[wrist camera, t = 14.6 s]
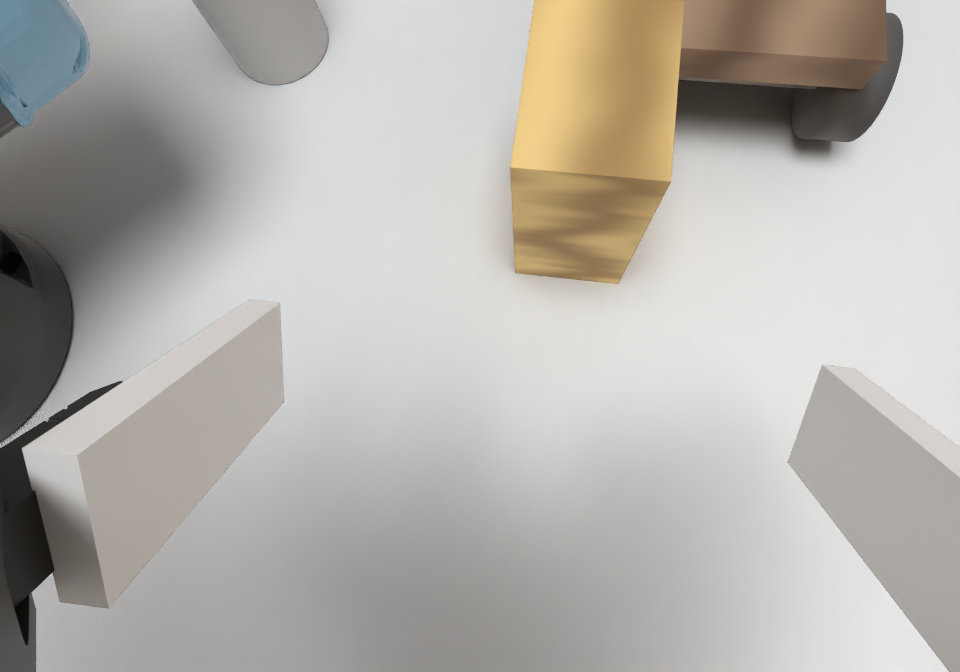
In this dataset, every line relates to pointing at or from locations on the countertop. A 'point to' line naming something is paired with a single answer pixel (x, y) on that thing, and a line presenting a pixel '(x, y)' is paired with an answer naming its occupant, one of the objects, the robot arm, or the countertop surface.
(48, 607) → the countertop surface
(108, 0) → the countertop surface
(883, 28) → the trolley
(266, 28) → the bottle
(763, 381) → the countertop surface
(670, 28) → the block
